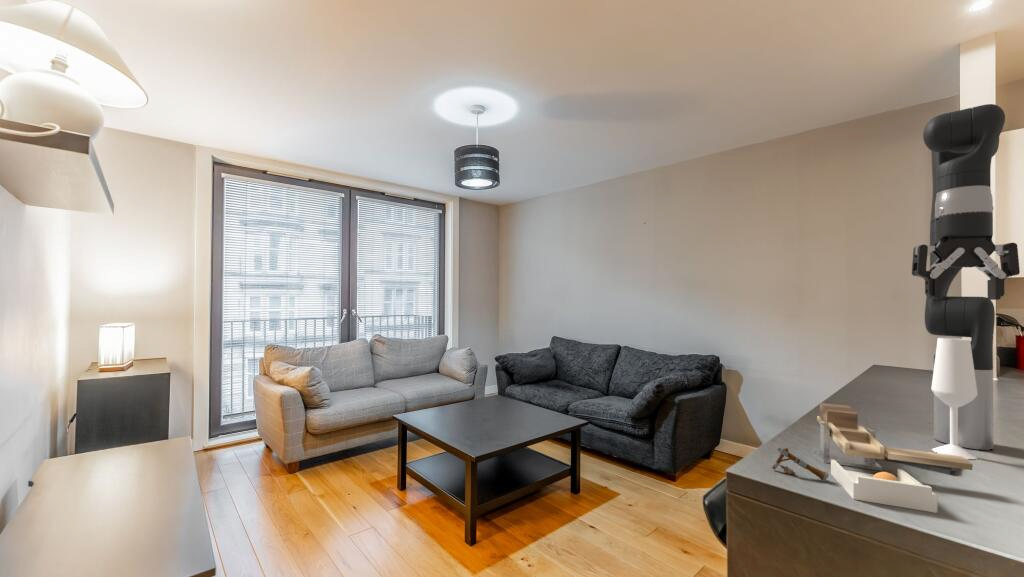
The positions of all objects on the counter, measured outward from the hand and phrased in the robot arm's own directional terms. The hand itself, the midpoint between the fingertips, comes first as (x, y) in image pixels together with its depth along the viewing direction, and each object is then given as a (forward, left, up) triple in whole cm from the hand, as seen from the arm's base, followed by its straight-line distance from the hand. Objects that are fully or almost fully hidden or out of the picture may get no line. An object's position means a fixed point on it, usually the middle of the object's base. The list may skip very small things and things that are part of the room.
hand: (963, 299), depth 79 cm
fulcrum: (+4, -19, -32) cm, 38 cm away
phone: (-3, -8, -33) cm, 34 cm away
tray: (+18, -19, -32) cm, 41 cm away
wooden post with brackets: (+17, -30, -32) cm, 47 cm away
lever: (+4, -13, -28) cm, 31 cm away
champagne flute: (-12, +4, -32) cm, 35 cm away
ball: (+21, -19, -30) cm, 41 cm away
